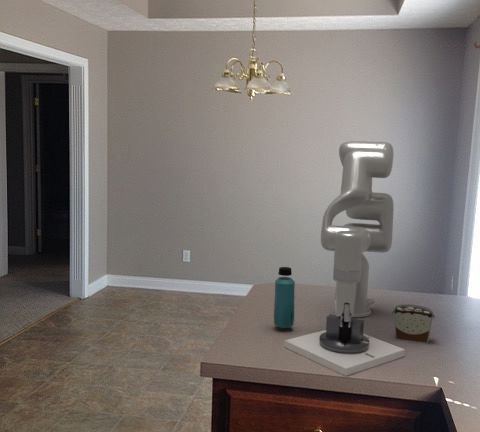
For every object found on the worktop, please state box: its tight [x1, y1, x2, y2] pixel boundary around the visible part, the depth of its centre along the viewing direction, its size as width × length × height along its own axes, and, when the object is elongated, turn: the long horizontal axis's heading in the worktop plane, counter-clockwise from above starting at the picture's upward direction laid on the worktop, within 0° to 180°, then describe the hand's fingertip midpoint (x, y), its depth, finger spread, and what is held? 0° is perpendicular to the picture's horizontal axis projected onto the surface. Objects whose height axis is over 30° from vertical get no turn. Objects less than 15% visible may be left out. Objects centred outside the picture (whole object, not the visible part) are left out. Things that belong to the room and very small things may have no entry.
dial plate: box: [283, 329, 406, 377], centre depth 162 cm, size 24×24×2 cm
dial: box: [319, 314, 369, 354], centre depth 161 cm, size 14×14×8 cm
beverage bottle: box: [273, 266, 296, 329], centre depth 178 cm, size 6×7×20 cm
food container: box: [392, 303, 436, 345], centre depth 173 cm, size 12×6×10 cm, turn 71°
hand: (343, 336), depth 161 cm, fingers closed on dial, 4 cm apart
